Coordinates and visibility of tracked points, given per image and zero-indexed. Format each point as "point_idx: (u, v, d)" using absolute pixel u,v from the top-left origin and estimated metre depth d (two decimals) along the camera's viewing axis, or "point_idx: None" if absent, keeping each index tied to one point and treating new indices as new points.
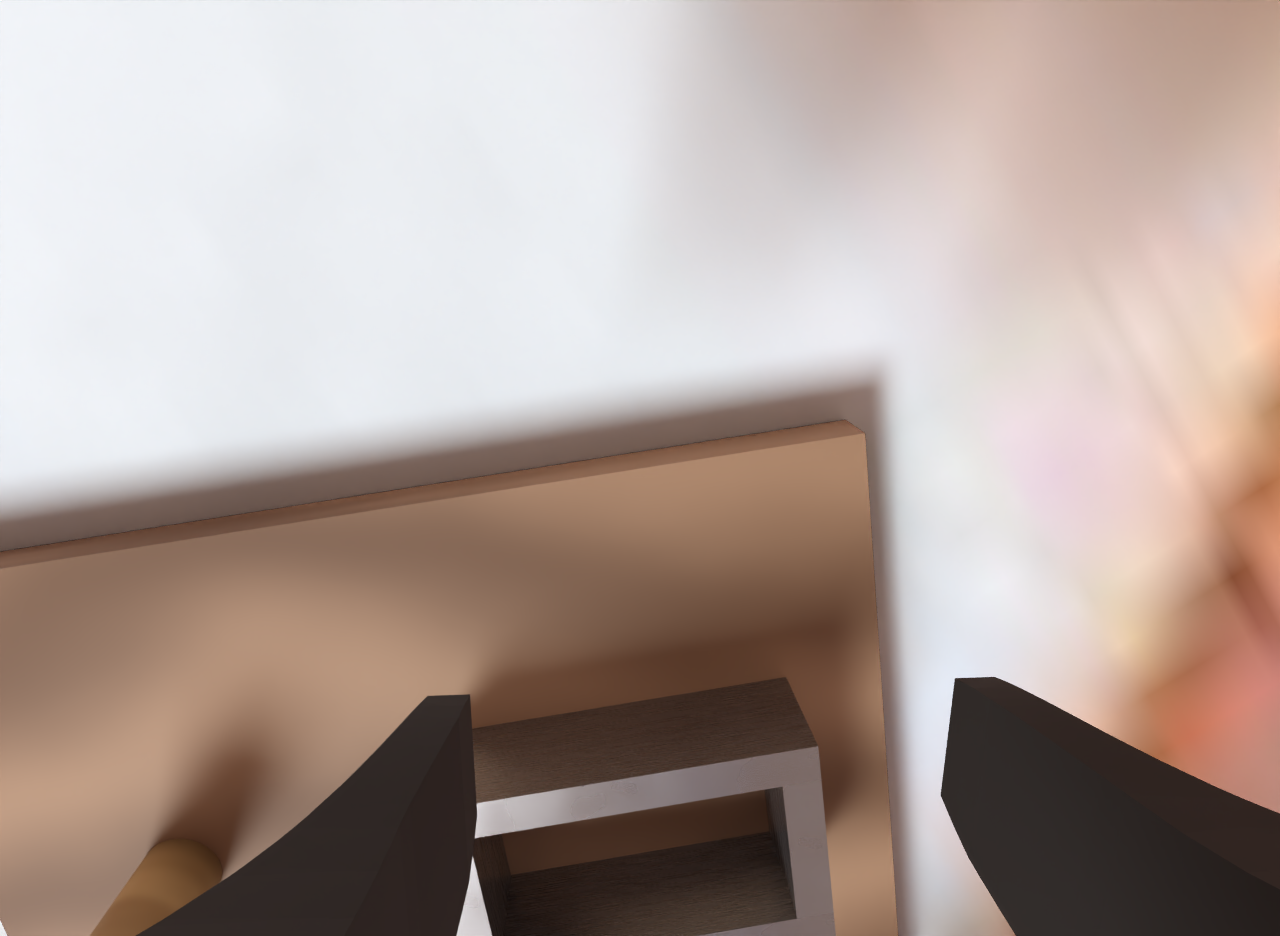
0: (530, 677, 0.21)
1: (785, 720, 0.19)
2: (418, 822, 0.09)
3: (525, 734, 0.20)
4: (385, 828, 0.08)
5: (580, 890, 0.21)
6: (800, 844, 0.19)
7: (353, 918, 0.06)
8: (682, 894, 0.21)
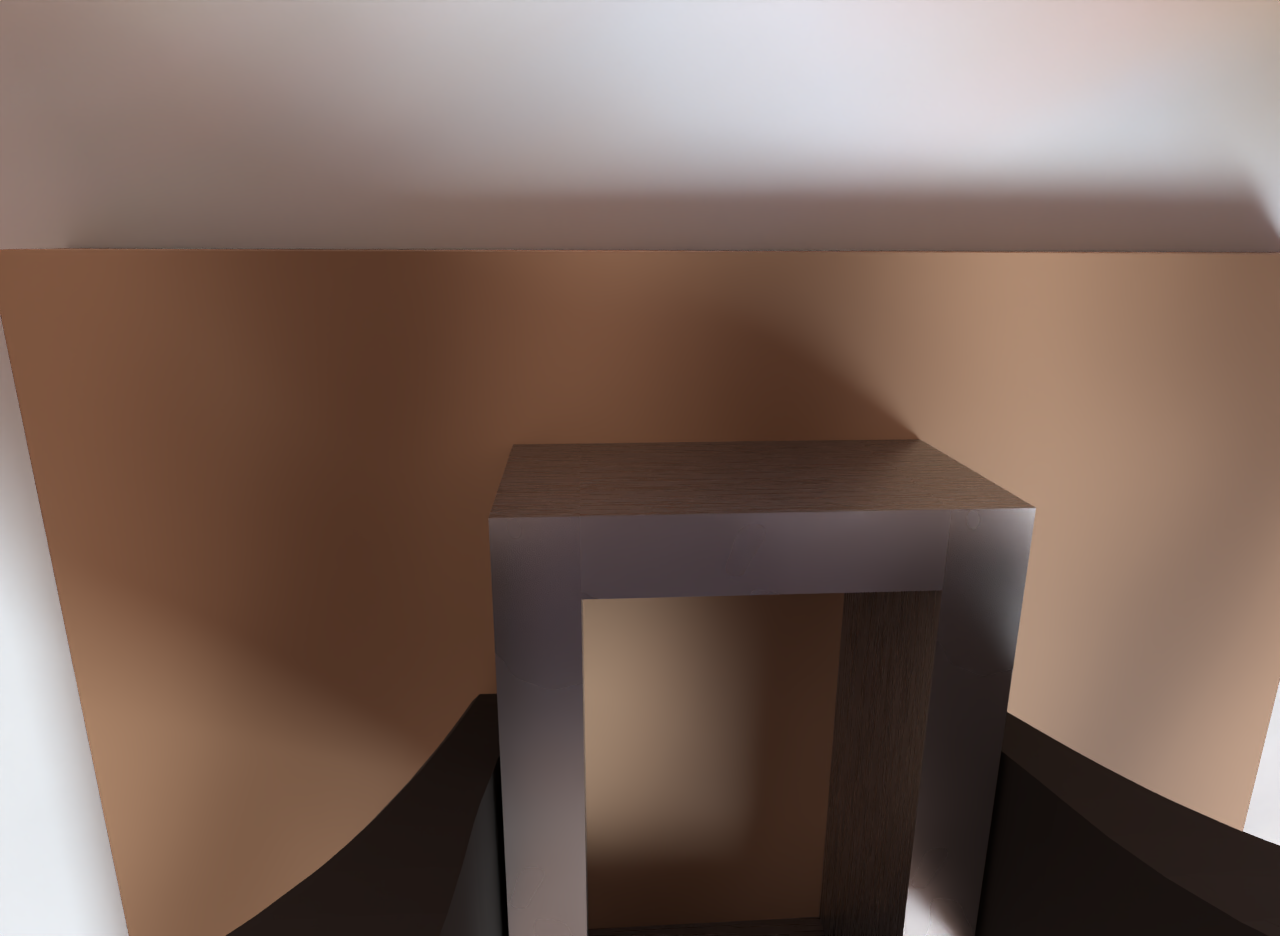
0: None
1: None
2: (486, 819, 0.09)
3: None
4: (460, 825, 0.08)
5: (845, 863, 0.12)
6: (744, 571, 0.08)
7: (444, 913, 0.07)
8: (877, 734, 0.11)
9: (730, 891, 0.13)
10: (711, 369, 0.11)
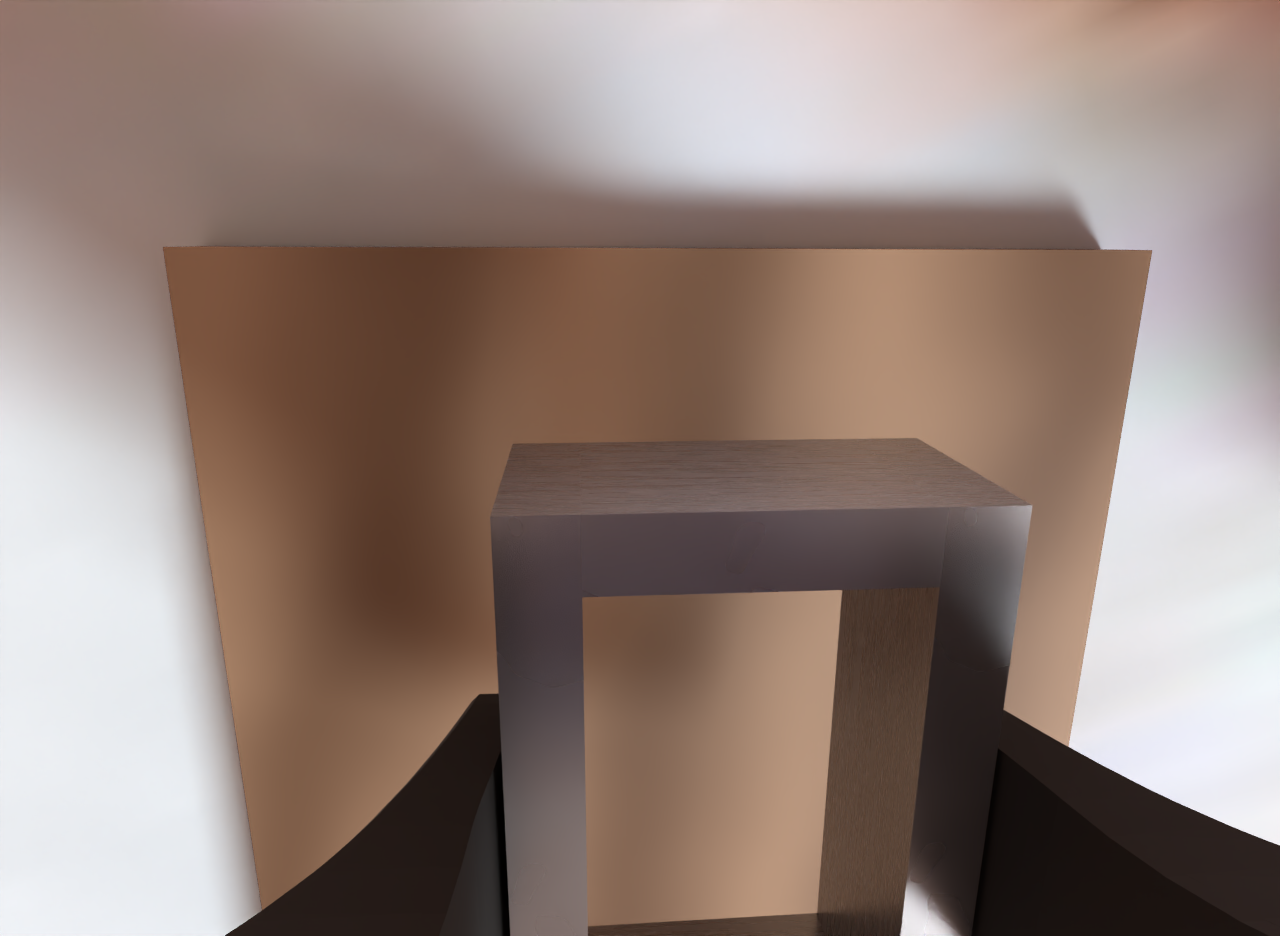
0: None
1: None
2: (486, 819, 0.09)
3: None
4: (460, 825, 0.08)
5: (843, 859, 0.12)
6: (745, 569, 0.08)
7: (444, 914, 0.07)
8: (875, 731, 0.11)
9: (689, 730, 0.17)
10: (669, 332, 0.15)
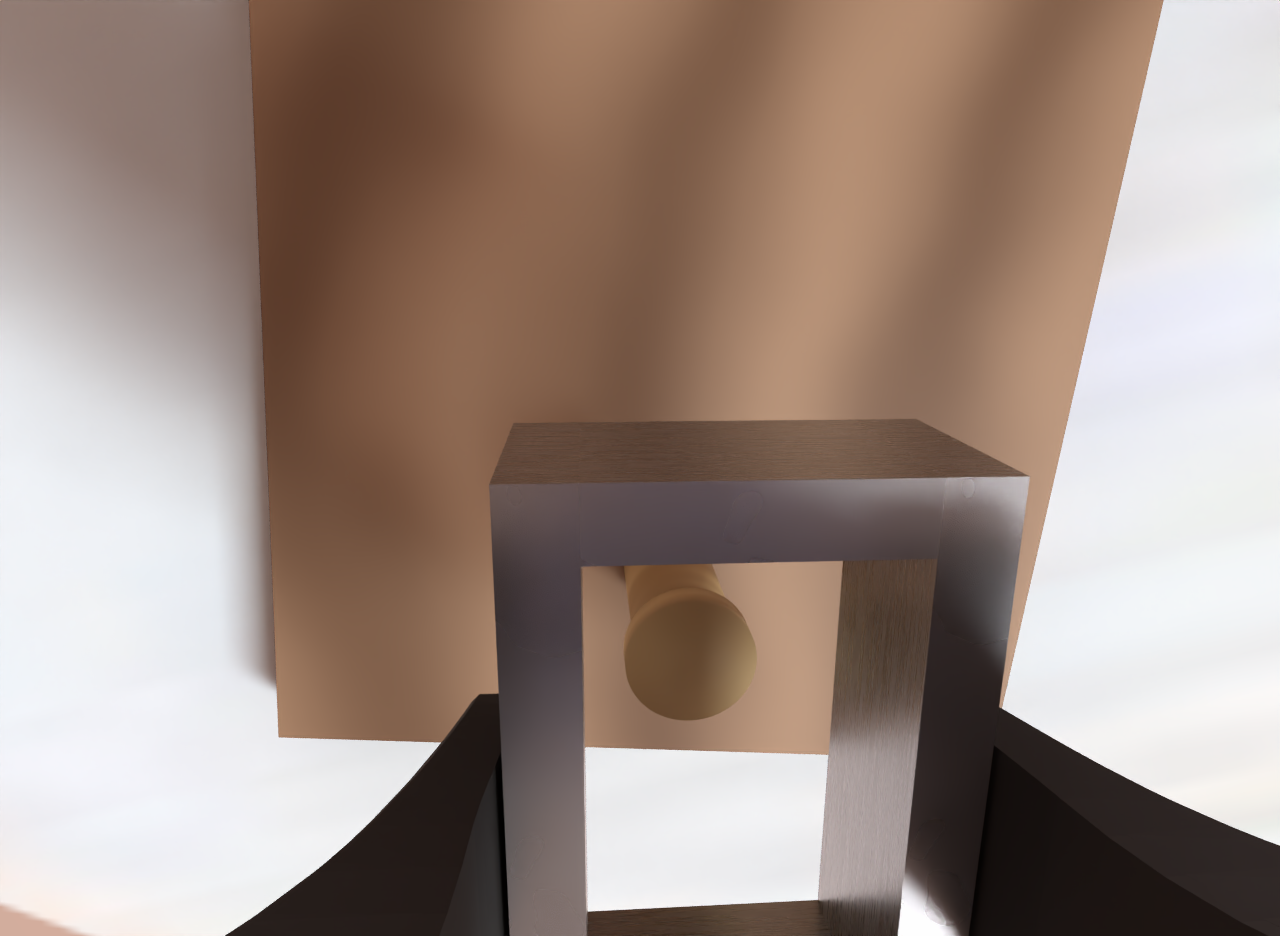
0: (513, 85, 0.16)
1: None
2: (486, 819, 0.09)
3: None
4: (460, 825, 0.08)
5: (844, 842, 0.12)
6: (742, 540, 0.08)
7: (444, 913, 0.07)
8: (874, 710, 0.11)
9: (725, 160, 0.17)
10: None
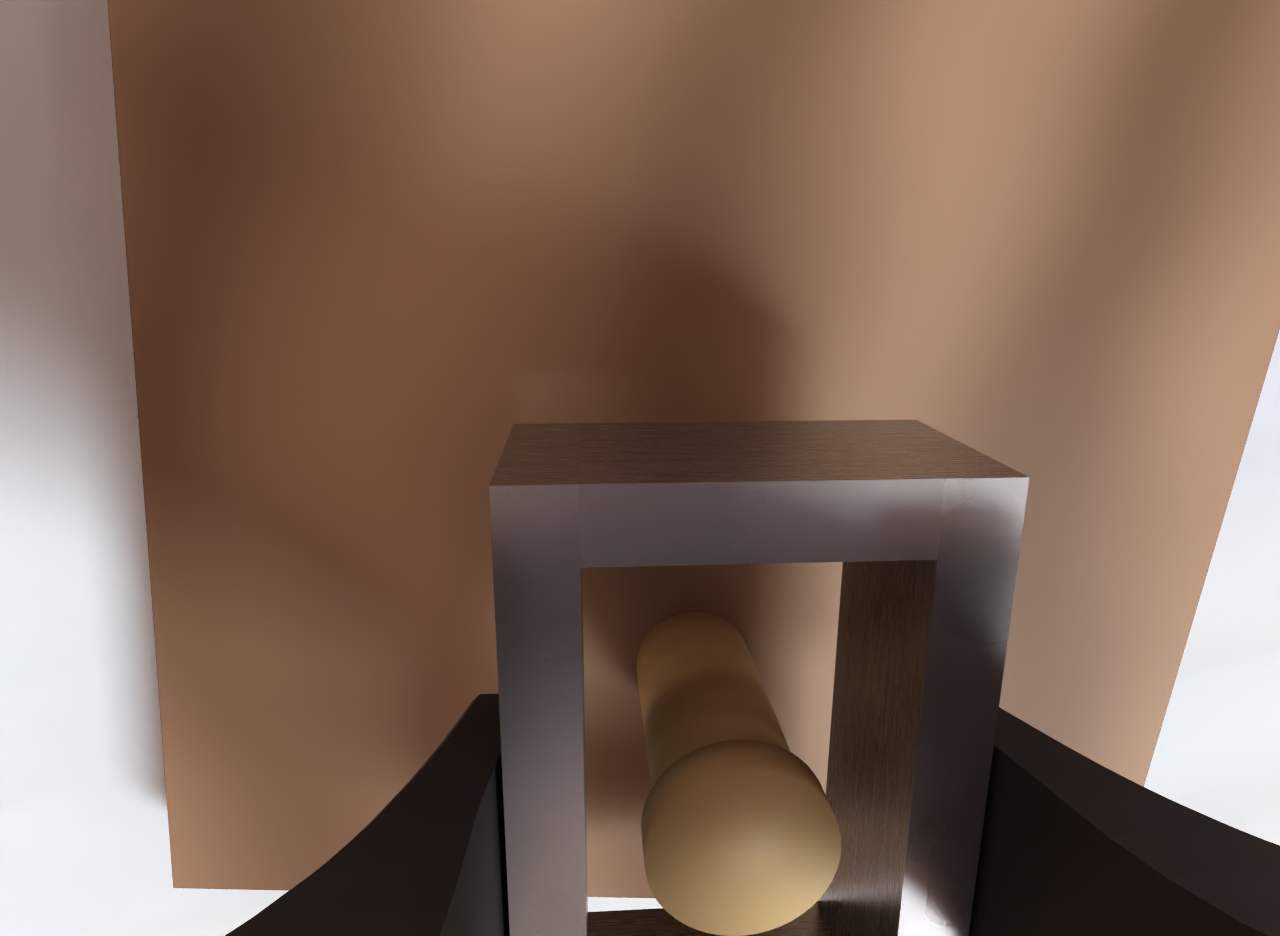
0: (486, 1, 0.11)
1: None
2: (486, 819, 0.09)
3: None
4: (460, 825, 0.08)
5: (844, 843, 0.12)
6: (742, 540, 0.08)
7: (444, 913, 0.07)
8: (874, 711, 0.11)
9: (786, 114, 0.12)
10: None
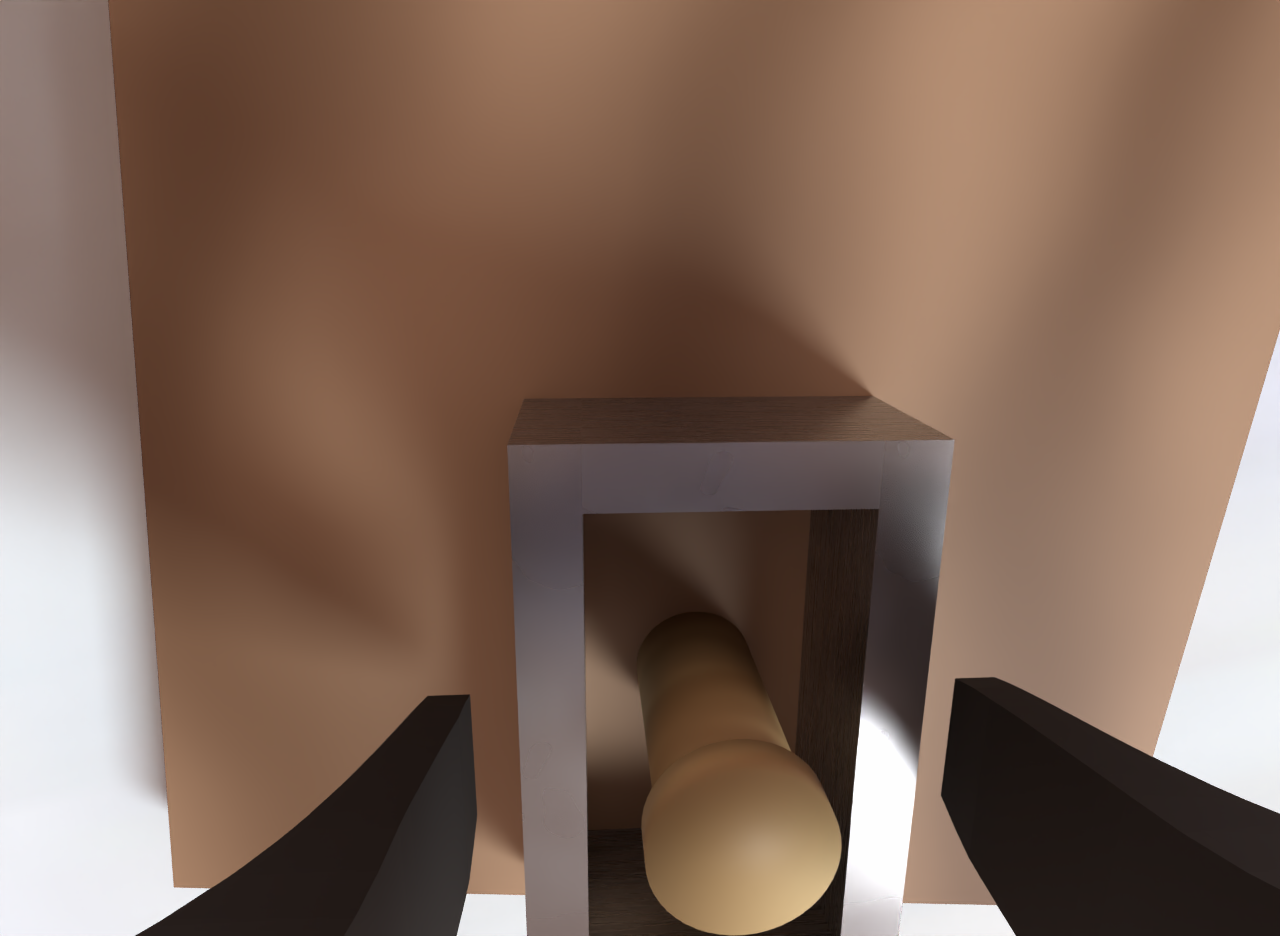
0: (487, 1, 0.11)
1: None
2: (418, 822, 0.09)
3: None
4: (385, 828, 0.08)
5: (810, 764, 0.14)
6: (716, 491, 0.10)
7: (353, 918, 0.06)
8: (833, 644, 0.12)
9: (787, 113, 0.12)
10: None
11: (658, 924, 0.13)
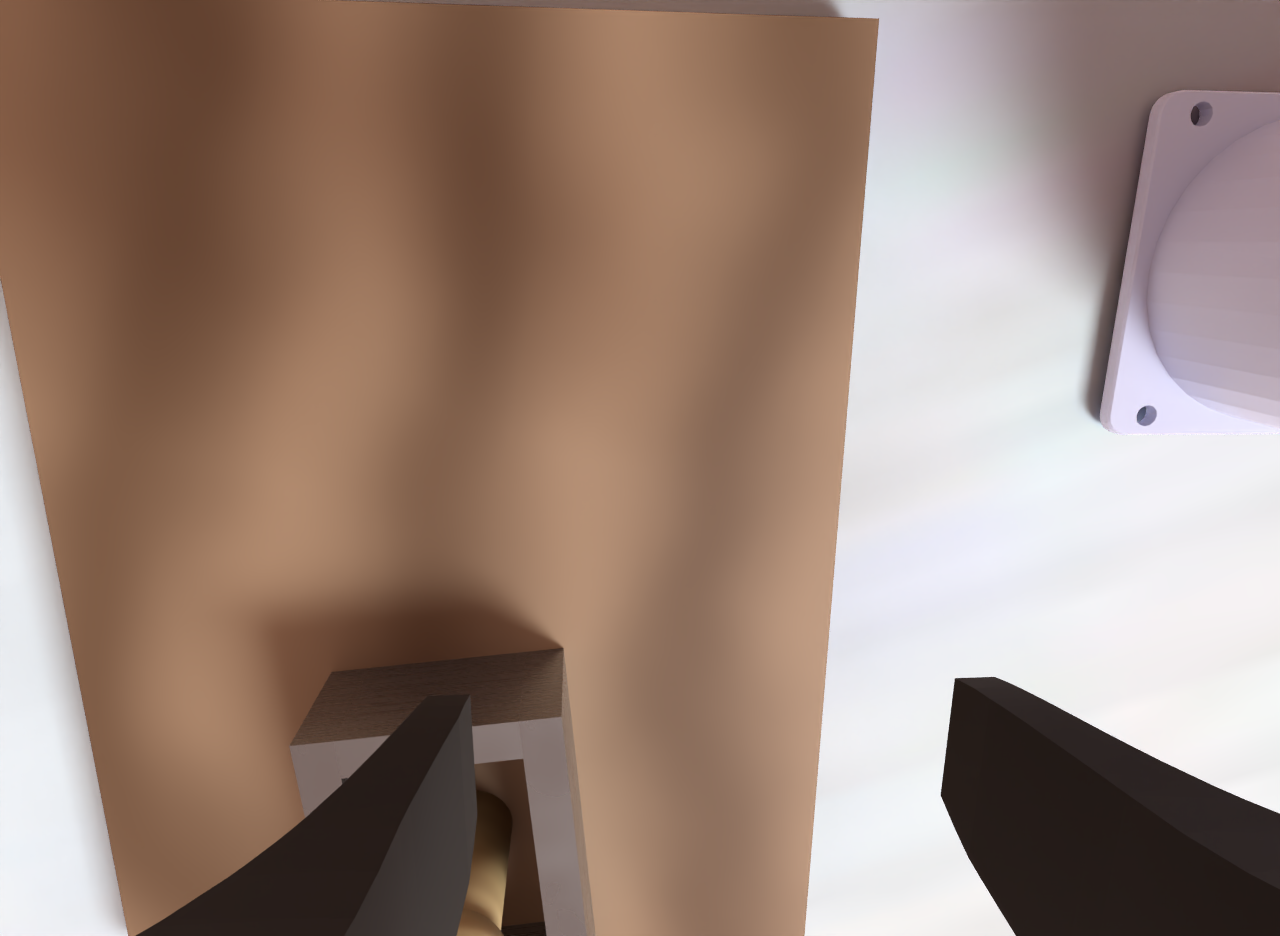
0: (272, 449, 0.18)
1: None
2: (418, 822, 0.09)
3: None
4: (385, 828, 0.08)
5: None
6: None
7: (353, 918, 0.06)
8: None
9: (474, 490, 0.19)
10: (428, 87, 0.16)
11: None
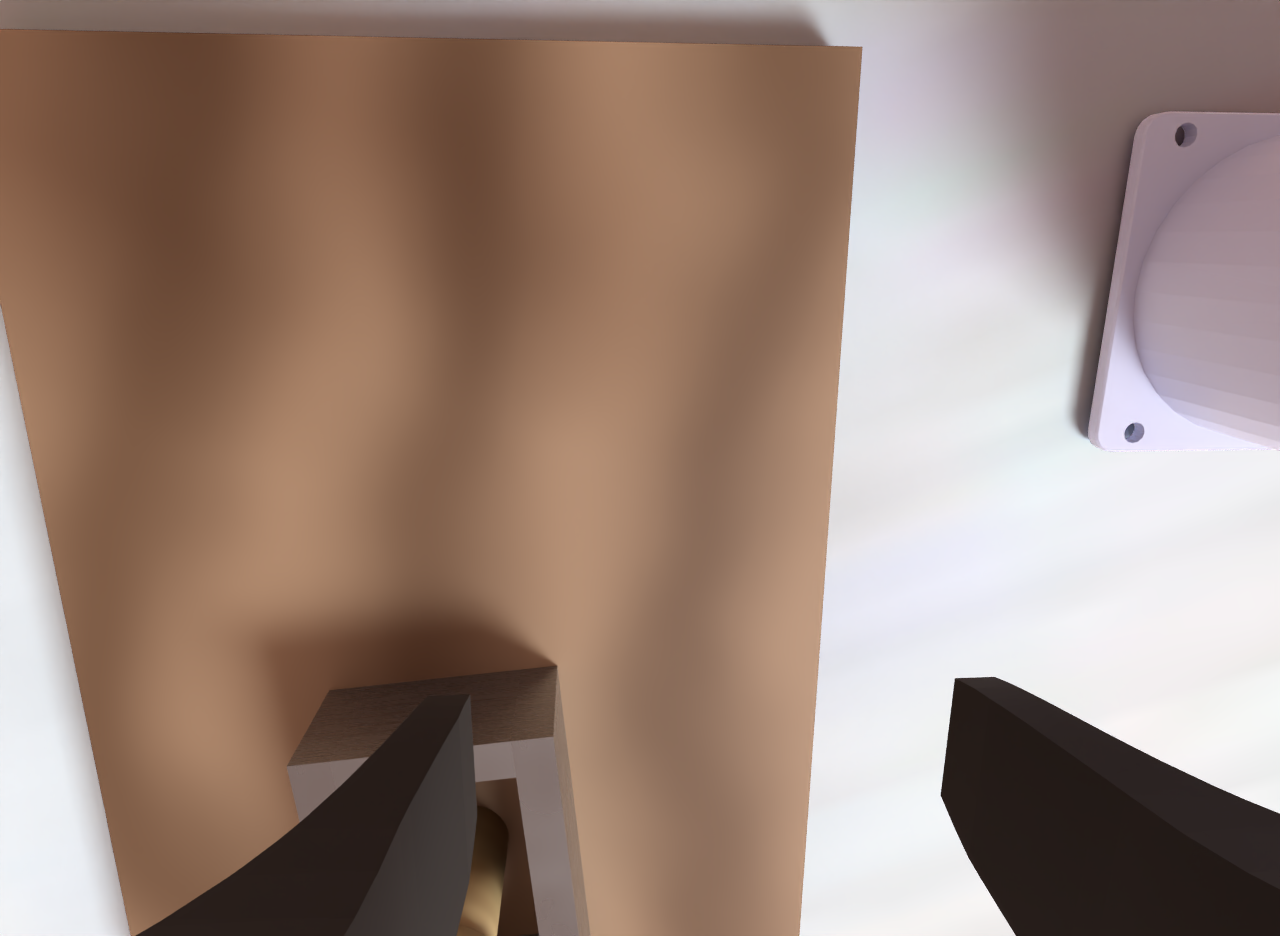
0: (268, 474, 0.18)
1: None
2: (418, 822, 0.09)
3: None
4: (385, 828, 0.08)
5: None
6: None
7: (353, 918, 0.06)
8: None
9: (467, 512, 0.19)
10: (417, 119, 0.17)
11: None
